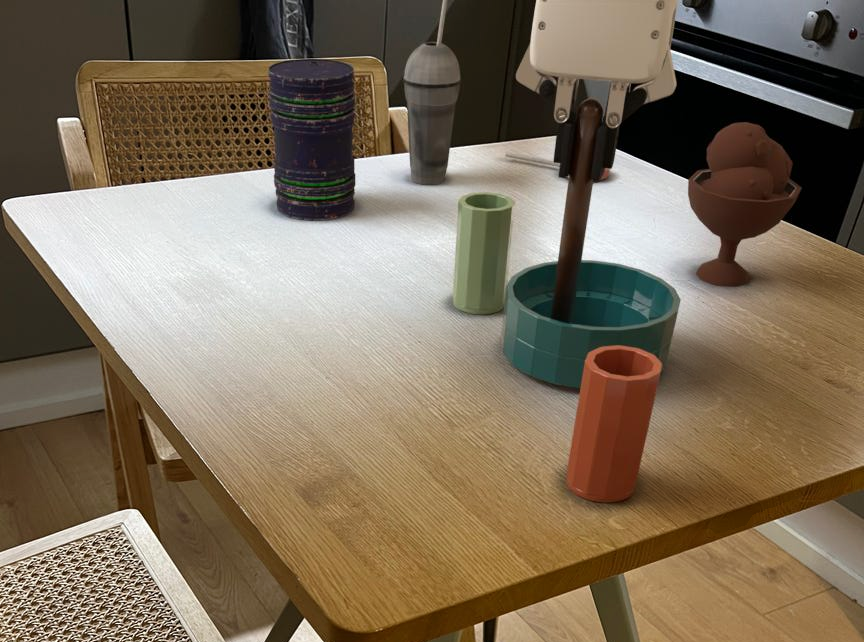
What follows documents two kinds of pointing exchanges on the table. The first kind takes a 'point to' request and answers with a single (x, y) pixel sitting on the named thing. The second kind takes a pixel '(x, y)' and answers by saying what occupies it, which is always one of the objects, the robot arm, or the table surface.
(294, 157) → the storage jar
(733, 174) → the ice cream bowl
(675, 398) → the table surface
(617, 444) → the utensil cup
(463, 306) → the rinse cup
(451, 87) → the beverage cup
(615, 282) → the mixing bowl
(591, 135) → the stirring stick
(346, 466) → the table surface
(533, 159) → the lollipop
